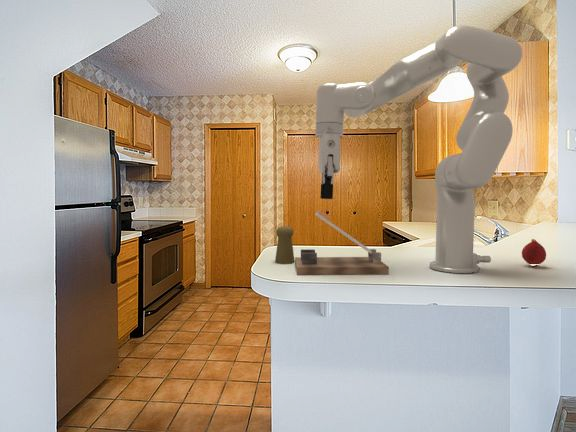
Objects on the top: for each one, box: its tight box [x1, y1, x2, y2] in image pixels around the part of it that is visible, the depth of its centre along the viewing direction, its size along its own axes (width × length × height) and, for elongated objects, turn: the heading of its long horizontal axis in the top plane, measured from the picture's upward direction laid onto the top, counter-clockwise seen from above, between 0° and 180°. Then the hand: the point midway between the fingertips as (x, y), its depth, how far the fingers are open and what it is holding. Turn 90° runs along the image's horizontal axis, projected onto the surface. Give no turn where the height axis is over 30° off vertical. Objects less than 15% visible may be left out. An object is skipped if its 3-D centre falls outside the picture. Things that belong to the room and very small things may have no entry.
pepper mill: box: [274, 225, 295, 265], centre depth 112 cm, size 6×6×11 cm
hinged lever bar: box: [314, 209, 373, 255], centre depth 102 cm, size 20×4×2 cm
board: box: [294, 248, 390, 276], centre depth 103 cm, size 24×14×5 cm, turn 91°
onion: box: [521, 238, 547, 265], centre depth 105 cm, size 6×6×8 cm
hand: (326, 198), depth 101 cm, fingers closed
